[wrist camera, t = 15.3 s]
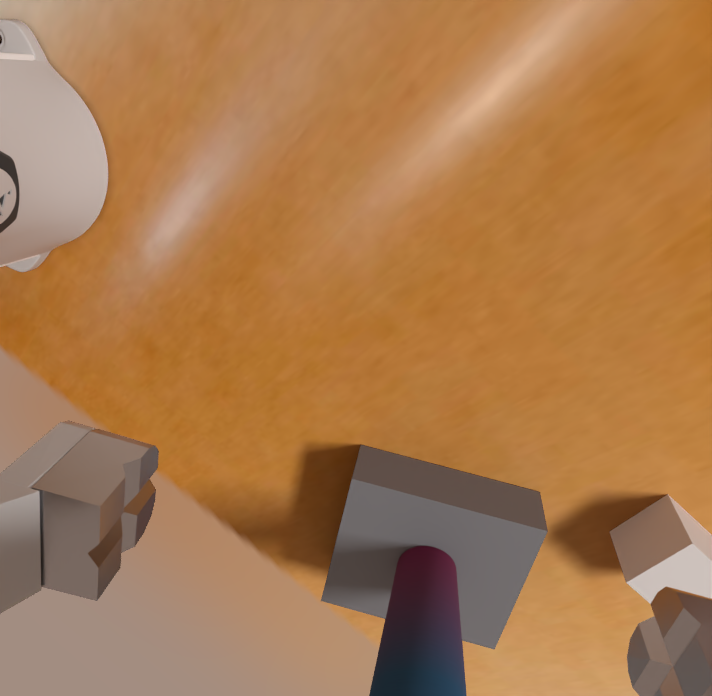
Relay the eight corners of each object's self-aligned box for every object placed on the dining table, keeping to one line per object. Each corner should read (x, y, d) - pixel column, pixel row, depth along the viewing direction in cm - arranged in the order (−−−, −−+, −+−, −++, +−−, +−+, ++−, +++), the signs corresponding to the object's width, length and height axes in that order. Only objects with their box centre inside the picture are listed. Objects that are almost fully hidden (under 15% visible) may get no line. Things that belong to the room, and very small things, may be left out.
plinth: (331, 560, 59) (321, 600, 54) (360, 444, 53) (351, 478, 48) (491, 605, 58) (494, 649, 53) (539, 492, 52) (547, 531, 47)
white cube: (713, 535, 51) (744, 590, 46) (654, 570, 54) (676, 626, 48) (667, 493, 50) (692, 543, 45) (608, 530, 53) (626, 582, 47)
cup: (413, 608, 53) (398, 790, 39) (371, 554, 51) (340, 725, 38) (482, 582, 51) (491, 766, 37) (440, 525, 49) (433, 696, 35)
